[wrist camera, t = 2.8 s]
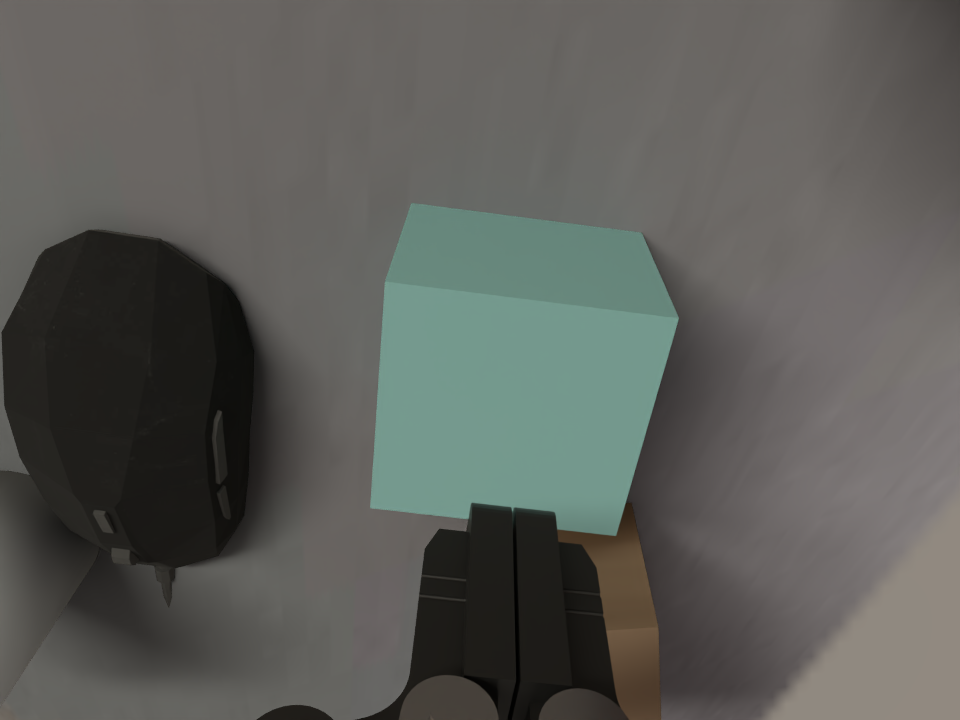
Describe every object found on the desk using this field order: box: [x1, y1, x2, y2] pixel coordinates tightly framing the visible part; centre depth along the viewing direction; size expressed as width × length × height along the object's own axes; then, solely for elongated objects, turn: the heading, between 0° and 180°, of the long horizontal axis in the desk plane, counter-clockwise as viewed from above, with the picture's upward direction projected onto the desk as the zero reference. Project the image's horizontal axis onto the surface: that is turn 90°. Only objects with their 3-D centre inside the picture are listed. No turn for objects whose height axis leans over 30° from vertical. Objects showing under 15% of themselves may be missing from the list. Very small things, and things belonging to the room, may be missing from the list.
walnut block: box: [557, 503, 661, 720], centre depth 23 cm, size 5×5×5 cm
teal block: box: [370, 203, 679, 536], centre depth 19 cm, size 6×6×5 cm
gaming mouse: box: [2, 230, 254, 607], centre depth 22 cm, size 6×15×4 cm, turn 172°
